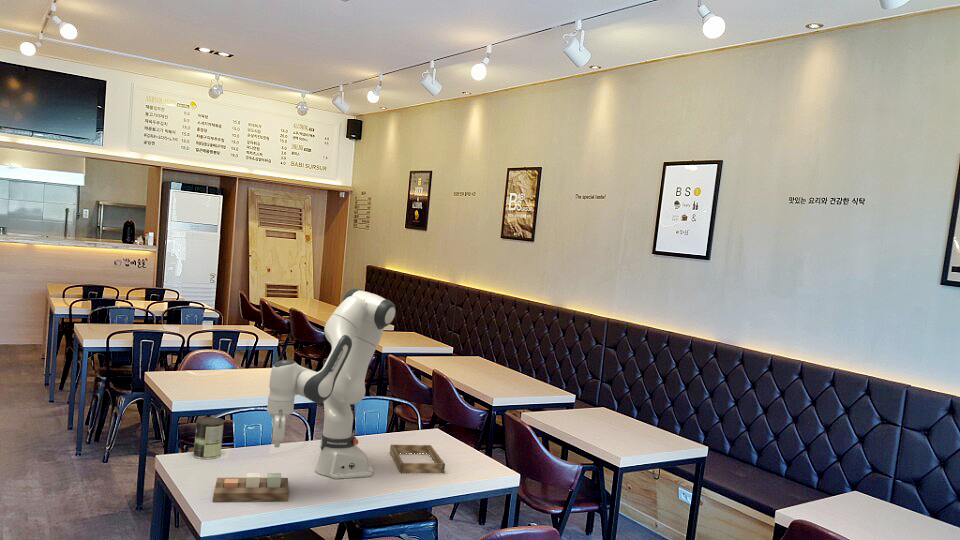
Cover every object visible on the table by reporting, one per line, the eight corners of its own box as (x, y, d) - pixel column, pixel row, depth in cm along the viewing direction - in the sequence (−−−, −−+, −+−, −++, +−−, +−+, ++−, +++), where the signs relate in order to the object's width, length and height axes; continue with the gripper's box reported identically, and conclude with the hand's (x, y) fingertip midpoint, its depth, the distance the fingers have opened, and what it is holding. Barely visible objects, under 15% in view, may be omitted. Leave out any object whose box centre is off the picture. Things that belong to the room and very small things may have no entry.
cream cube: (259, 483, 238) (260, 473, 238) (258, 487, 234) (259, 477, 234) (245, 483, 237) (246, 472, 237) (245, 487, 233) (246, 477, 233)
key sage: (279, 483, 240) (280, 473, 240) (280, 487, 236) (281, 477, 236) (266, 483, 239) (267, 473, 239) (266, 487, 235) (267, 477, 235)
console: (287, 485, 246) (287, 477, 246) (288, 501, 232) (288, 492, 232) (216, 486, 239) (217, 477, 239) (212, 502, 225) (213, 493, 225)
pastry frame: (429, 454, 302) (430, 445, 302) (443, 473, 277) (444, 464, 277) (389, 453, 297) (390, 444, 297) (400, 473, 272) (401, 463, 272)
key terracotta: (237, 488, 236) (238, 478, 236) (236, 493, 232) (237, 482, 232) (224, 488, 235) (225, 478, 235) (223, 493, 231) (224, 483, 231)
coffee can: (189, 458, 265) (192, 422, 265) (198, 450, 275) (201, 416, 275) (216, 460, 266) (219, 424, 265) (224, 452, 276) (227, 418, 276)
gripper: (290, 414, 228) (286, 455, 228) (289, 400, 248) (285, 438, 248) (270, 414, 226) (267, 455, 227) (271, 399, 246) (267, 437, 246)
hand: (276, 446), depth 237 cm, fingers closed
